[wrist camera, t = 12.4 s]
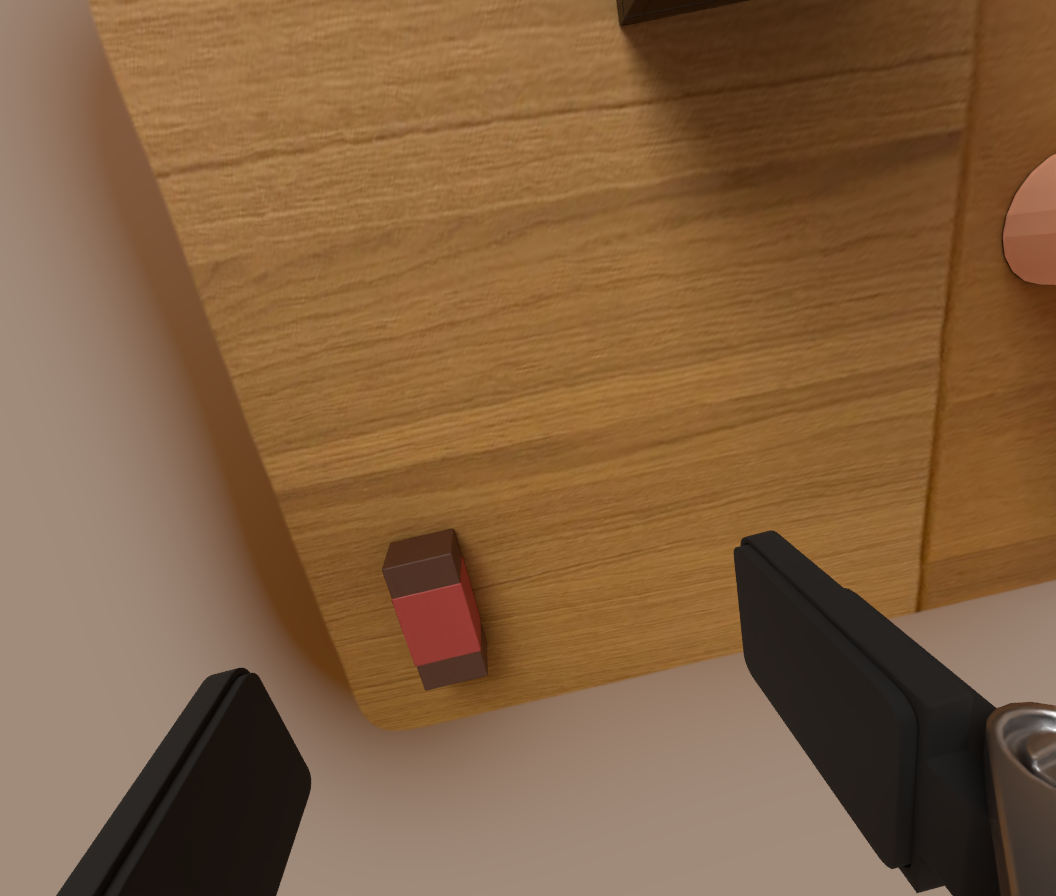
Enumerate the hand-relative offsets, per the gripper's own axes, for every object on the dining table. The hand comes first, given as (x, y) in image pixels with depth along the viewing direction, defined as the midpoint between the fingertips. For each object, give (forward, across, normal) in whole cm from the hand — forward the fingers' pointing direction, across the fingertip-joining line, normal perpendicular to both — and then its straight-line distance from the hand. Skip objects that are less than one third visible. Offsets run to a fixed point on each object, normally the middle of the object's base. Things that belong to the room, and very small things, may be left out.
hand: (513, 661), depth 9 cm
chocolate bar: (+20, +6, +11) cm, 24 cm away
